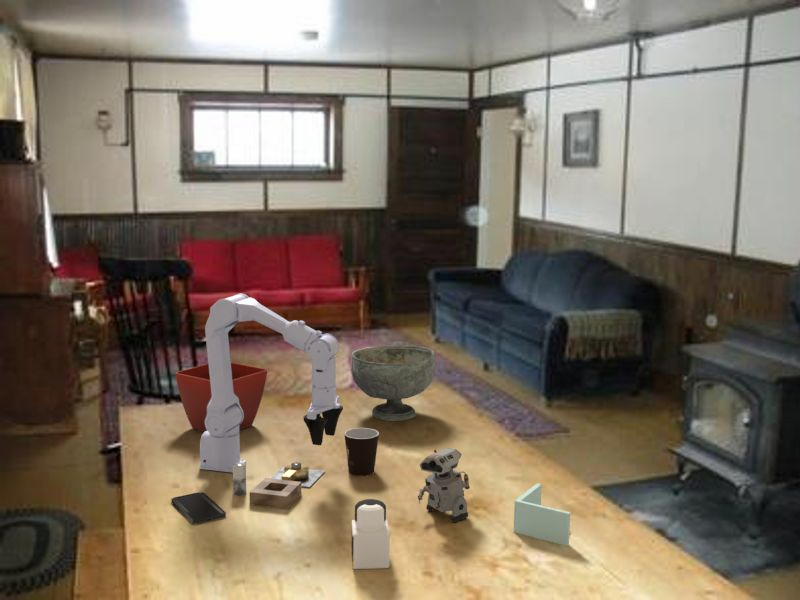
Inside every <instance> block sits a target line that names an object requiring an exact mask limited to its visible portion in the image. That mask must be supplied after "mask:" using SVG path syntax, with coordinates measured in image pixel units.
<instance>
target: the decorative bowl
mask: <svg viewBox="0 0 800 600" xmlns="http://www.w3.org/2000/svg"><path fill="white" fill-rule="evenodd" d="M435 369H436V356H435V351H434V350H433V349H432V348H429V347H425V346H419V345H412V344H411V345H401V344H392V345H390V344H389V345H375V346H368V347H363V348H360V349H357V350H356V349H355V350H354V351H352V352H351V369H350V370H351V376H352V379H353V381H354V383H355V384H356V386H357V387H358V388H359V390H360V391H361V392H363V393H364V394H365V395H366V396H368V397H369V398H372V399H381V400H385V401H386V402H385V403H384V402H383V403H380V404H377V405H376V406H374V407H372V411H371V415H372V416H373V417H374V418H376V419H378V420H382V421H386V422H387V421H388V422H402V421H407V420H411V419H413V418H415V417H416V410H415V408H414V407H413V406H411V405H409V404H407V403H403V402H402V399H403V400H404V399H410V398H413V397H416V396H417V395H420V394H421V393H423V392H424V391H425V390H426V389H427V388H429V386H430V385H431V383H432V382H433V379H434V375H435Z"/></svg>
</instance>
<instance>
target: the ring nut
mask: <svg viewBox="0 0 800 600" xmlns="http://www.w3.org/2000/svg"><path fill="white" fill-rule="evenodd" d="M309 469H310V468H309V467H308V465H306V464H302V463H301V462H298V461H295V462H291V464H289V465H286V466H285V468H284V474H283V475H282V480H289V481H295V480H299V479H304V478H306V477H308V476H309Z"/></svg>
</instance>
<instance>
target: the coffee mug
mask: <svg viewBox="0 0 800 600" xmlns="http://www.w3.org/2000/svg"><path fill="white" fill-rule="evenodd" d="M379 435H380V432H379V431H378V430H376V429H375V428H374V429H373V428H368V427H354V428H350V429H347V430H346V431H344V441H345V450H346V460H347V469H348V473H349V474H350V475H351V476H355V475H356V477H367V476H366V475H368V476H371V475H373V474H374V473H375V466H376V459H377V452H378V444H379ZM373 472H374V473H373ZM372 473H373V474H372Z"/></svg>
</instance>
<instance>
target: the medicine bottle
mask: <svg viewBox="0 0 800 600" xmlns="http://www.w3.org/2000/svg"><path fill="white" fill-rule="evenodd" d="M388 522H389V521H388V519H387V506H386V504H385V503H384V502H383V501H382V500H379V499H374V498H368V499H362V500H360V501H358V502H357V503H356V504H355V505H354V519H352V520H351V538H350V539H351V540H350V541H351V543H350V544H351V547H350V548H351V551H350V552H351V564H352V565H351V566H352V569H353V570H373V569H374V570H377V569H389V568H390V564H391V563H390V562H391V561H390V556H391V555H390V553H391V552H390V551H391V550H390V548H391V546H390V545H391V542H390V539H391V537H390V535H391V534H390V528H389V523H388Z"/></svg>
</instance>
